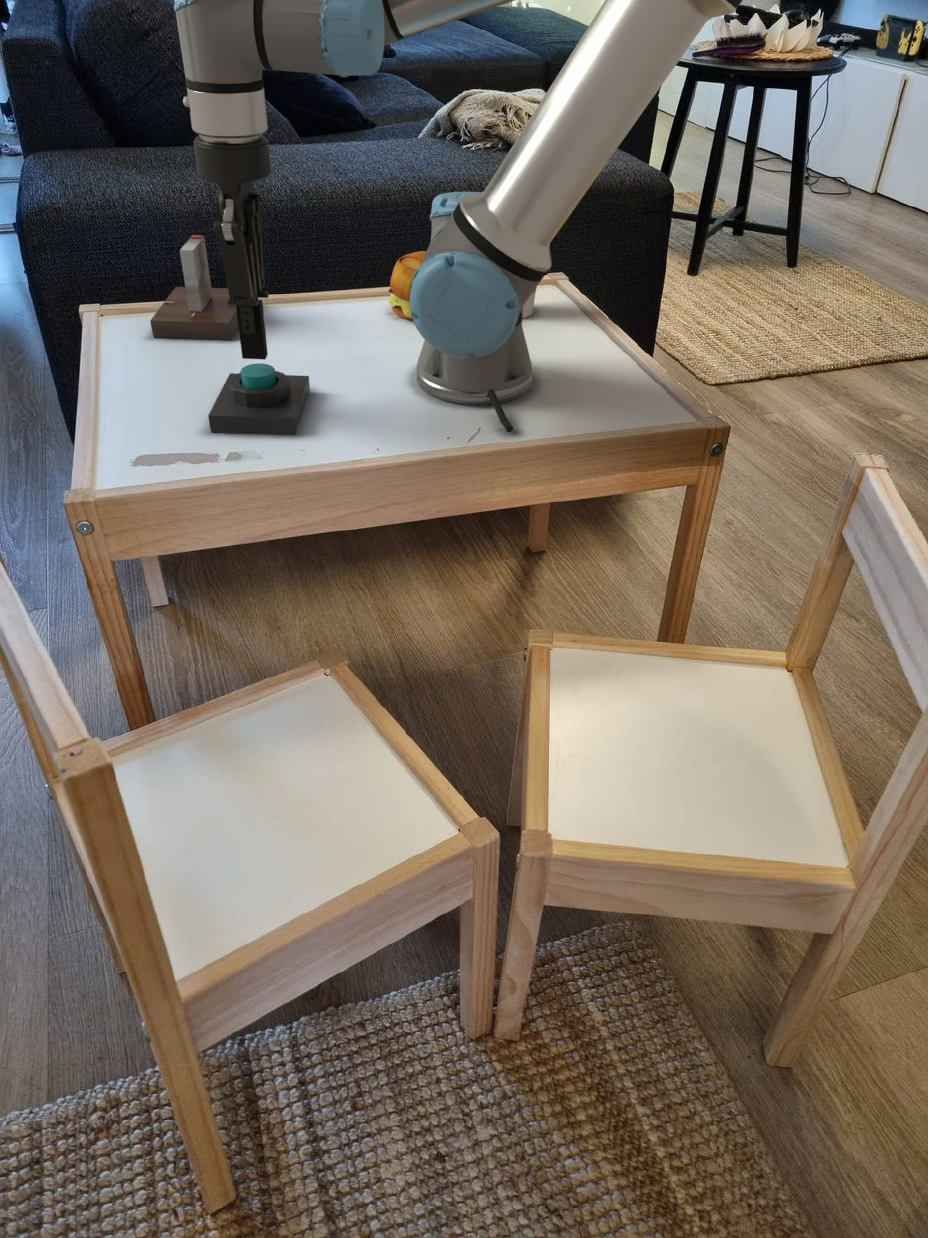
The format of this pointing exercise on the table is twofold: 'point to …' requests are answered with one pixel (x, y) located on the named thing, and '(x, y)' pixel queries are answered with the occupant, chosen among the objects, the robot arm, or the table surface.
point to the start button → (258, 376)
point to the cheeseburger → (404, 283)
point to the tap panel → (195, 317)
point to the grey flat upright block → (196, 273)
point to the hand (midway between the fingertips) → (255, 356)
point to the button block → (260, 406)
